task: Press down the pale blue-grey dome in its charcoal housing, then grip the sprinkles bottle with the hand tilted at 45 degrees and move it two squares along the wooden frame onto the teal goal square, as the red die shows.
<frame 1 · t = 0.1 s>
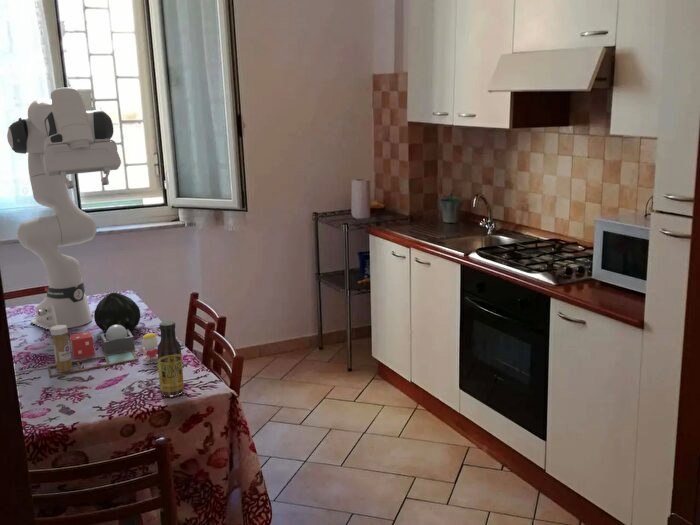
hand: (88, 186, 194), 54 cm above the table, tool tilted 30°, fingers open, 8 cm apart
wooden frame: (93, 364, 212), on the table
dome housing: (118, 347, 226), on the table
red die: (83, 353, 221), on the table
dome: (116, 334, 225), point 4 cm above the table, slide at 0.2 cm
toy figures: (159, 358, 215), on the table
squash: (119, 331, 242), on the table
sauce bottle: (173, 394, 189), on the table
sprinkles bottle: (65, 370, 209), resting in wooden frame
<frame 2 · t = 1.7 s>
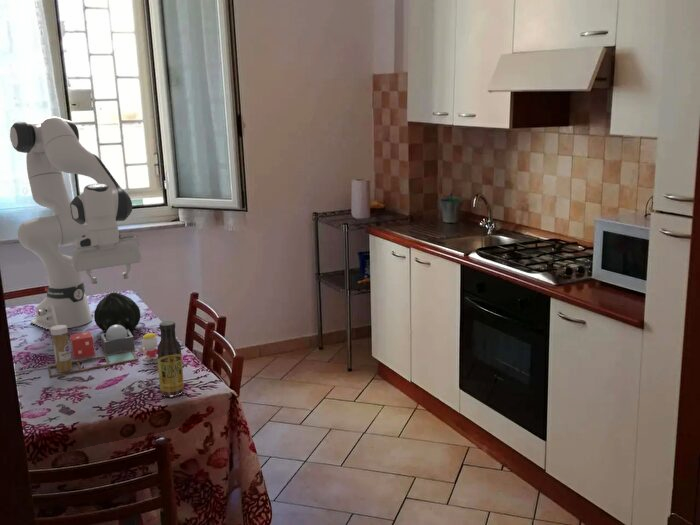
hand: (110, 280, 219), 22 cm above the table, tool pointing down, fingers open, 8 cm apart
nothing on the table moved.
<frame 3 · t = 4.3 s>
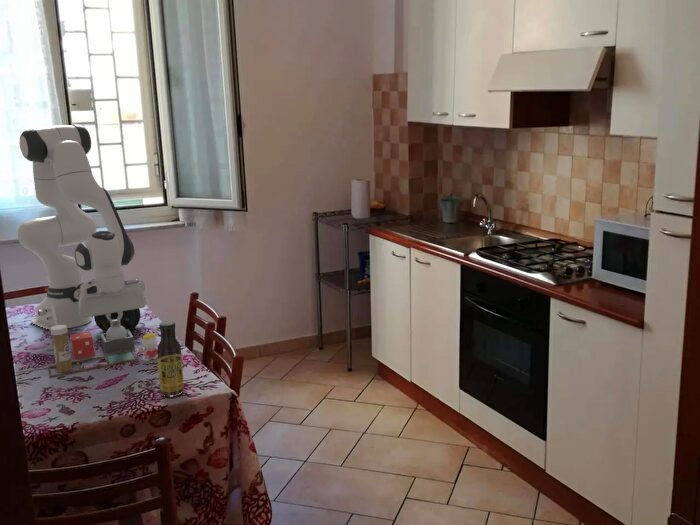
hand: (115, 325, 224), 7 cm above the table, tool pointing down, fingers closed, pressing on dome
dome: (116, 334, 225), point 4 cm above the table, slide at 0.3 cm, touching gripper
everything else where it was.
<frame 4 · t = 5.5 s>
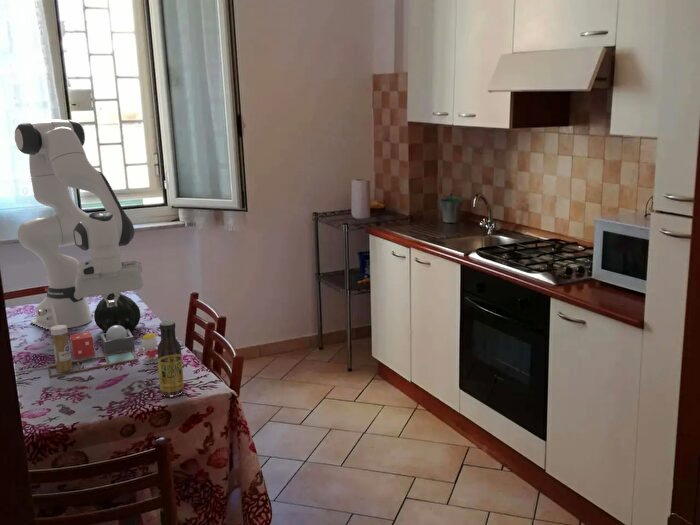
hand: (112, 306, 223), 14 cm above the table, tool pointing down, fingers closed
dome: (116, 335, 225), point 4 cm above the table, slide at 0.4 cm
everything else where it was.
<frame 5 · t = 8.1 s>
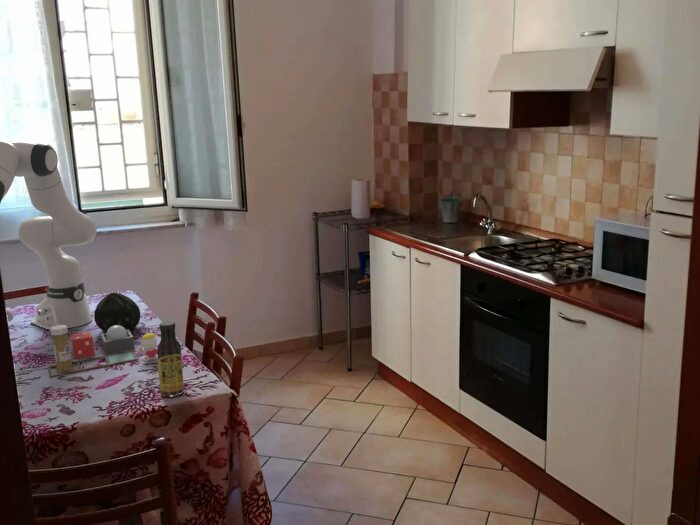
hand: (11, 318, 199), 18 cm above the table, tool tilted 45°, fingers closed
nothing on the table moved.
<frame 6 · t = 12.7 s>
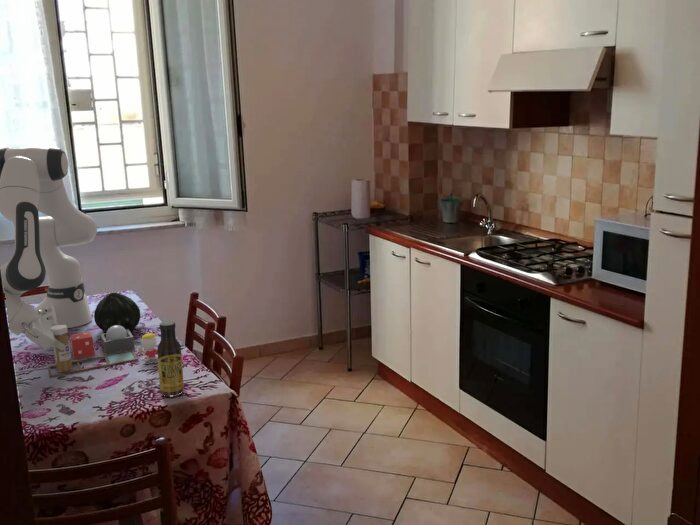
hand: (63, 344, 207), 8 cm above the table, tool tilted 45°, fingers closed on sprinkles bottle, 4 cm apart
sprinkles bottle: (65, 370, 209), resting in wooden frame, touching gripper
everything else where it was.
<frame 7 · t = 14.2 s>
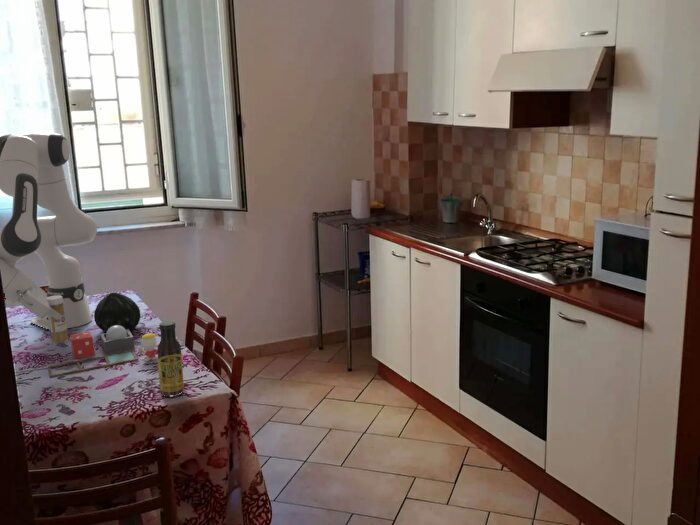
hand: (58, 314, 205), 17 cm above the table, tool tilted 45°, fingers closed on sprinkles bottle, 4 cm apart
sprinkles bottle: (60, 341, 207), point 9 cm above the table, touching gripper
everything else where it was.
when the fingers open (9 cm above the table, at t = 17.5 s): sprinkles bottle stays where it is, resting on wooden frame.
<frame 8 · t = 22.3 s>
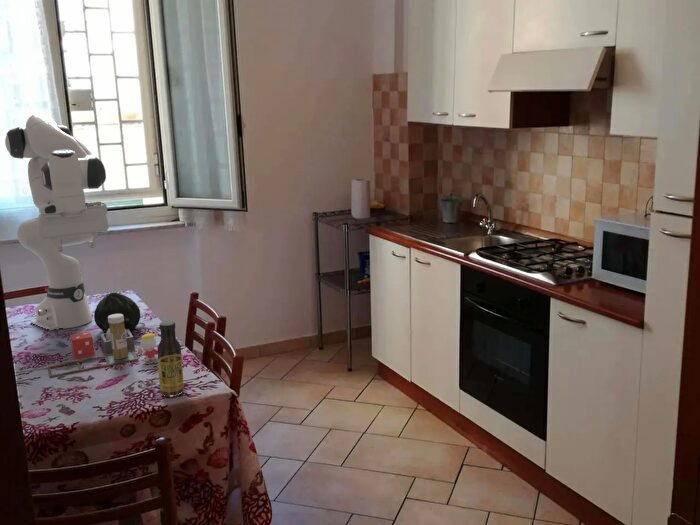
hand: (76, 249, 216), 33 cm above the table, tool pointing down, fingers open, 8 cm apart
sprinkles bottle: (121, 357, 216), resting on wooden frame
everything else where it was.
at the end: sprinkles bottle 0.1 cm from the target spot, resting on wooden frame; sprinkles bottle tilted 0°; the gripper is holding nothing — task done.
